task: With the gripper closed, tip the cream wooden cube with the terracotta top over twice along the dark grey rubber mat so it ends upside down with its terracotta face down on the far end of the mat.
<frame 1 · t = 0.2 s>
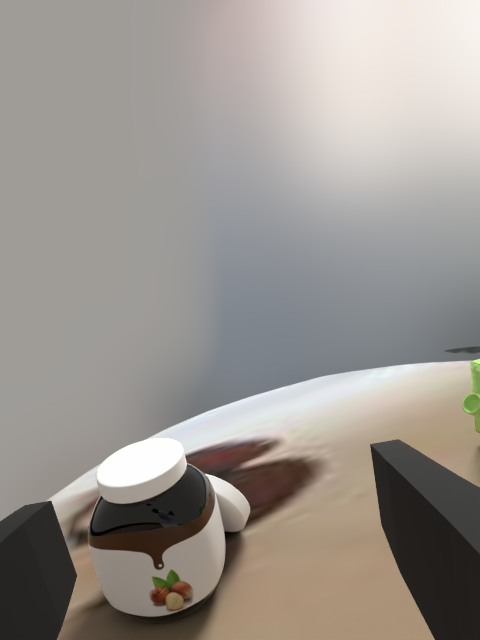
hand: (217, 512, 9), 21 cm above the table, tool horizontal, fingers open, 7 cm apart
spread jar: (188, 567, 36), on the table
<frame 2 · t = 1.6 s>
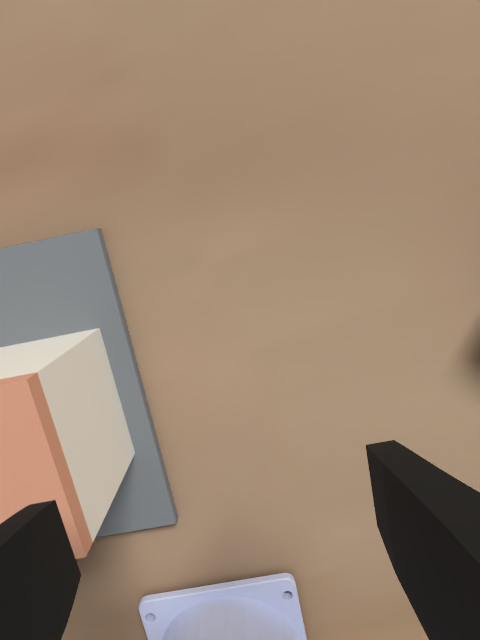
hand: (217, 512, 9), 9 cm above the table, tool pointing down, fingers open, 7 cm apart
cube: (52, 405, 18), resting on mat
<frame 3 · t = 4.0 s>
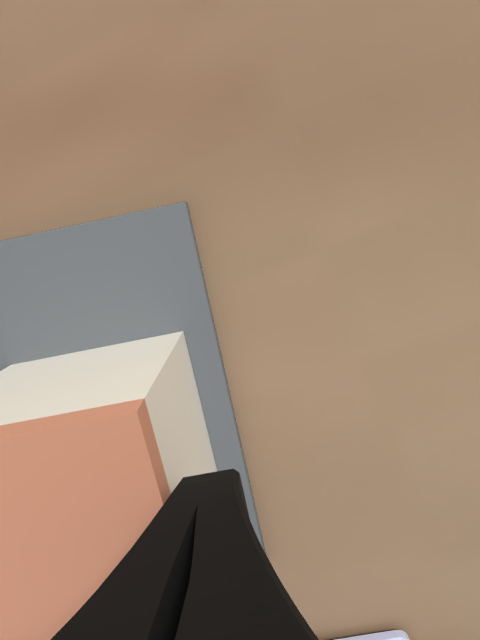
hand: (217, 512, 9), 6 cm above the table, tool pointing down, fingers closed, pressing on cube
cube: (119, 428, 14), point 1 cm above the table, touching gripper, mat
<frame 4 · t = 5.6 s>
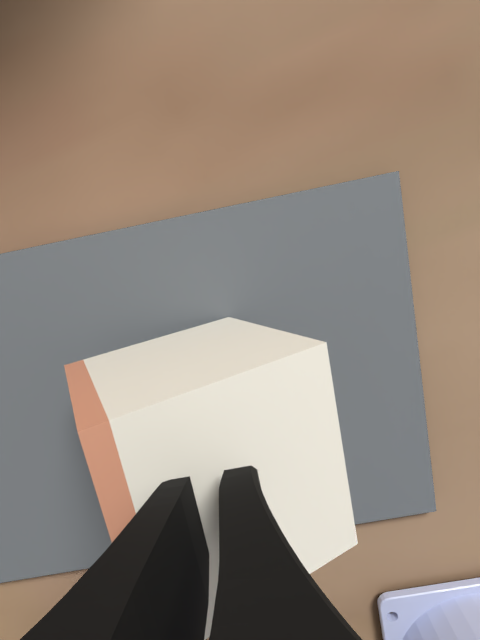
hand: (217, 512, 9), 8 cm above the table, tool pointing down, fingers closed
mat: (172, 397, 17), on the table
cube: (283, 413, 13), point 3 cm above the table, tilted 63°, touching gripper, mat
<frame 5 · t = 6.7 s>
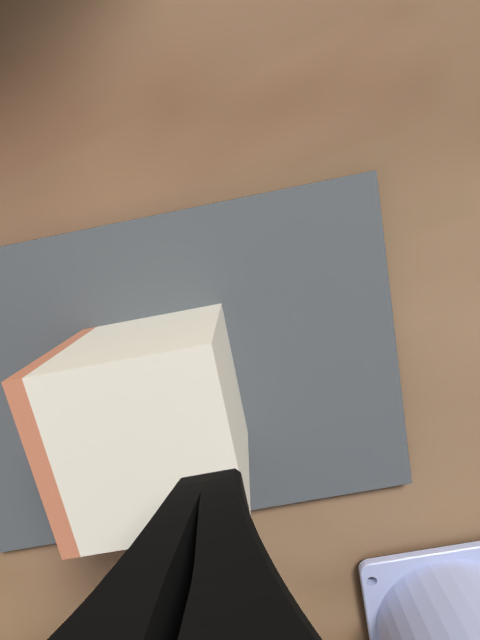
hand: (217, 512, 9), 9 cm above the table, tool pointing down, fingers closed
mat: (169, 378, 18), on the table
cube: (234, 398, 15), point 3 cm above the table, tilted 90°, touching mat
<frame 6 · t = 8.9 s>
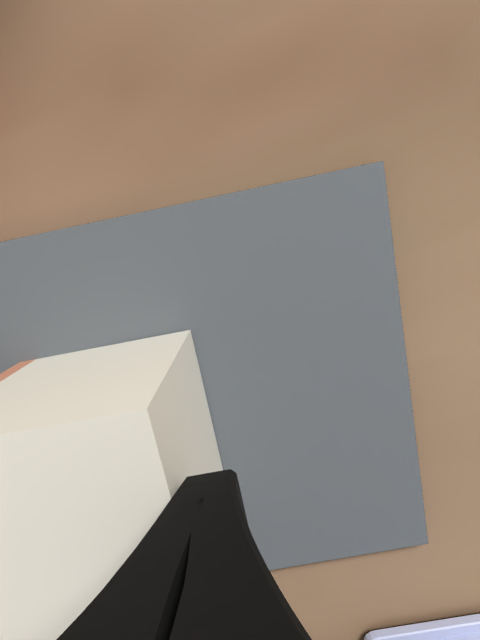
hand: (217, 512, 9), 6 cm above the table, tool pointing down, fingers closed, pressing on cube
mat: (130, 419, 15), on the table
cube: (199, 459, 11), point 4 cm above the table, tilted 91°, touching gripper, mat
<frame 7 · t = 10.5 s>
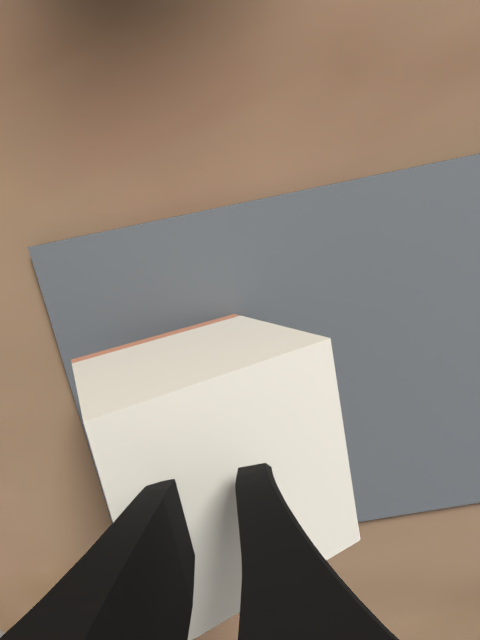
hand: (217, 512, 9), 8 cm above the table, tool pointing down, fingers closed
mat: (319, 369, 17), on the table
cube: (247, 491, 10), point 7 cm above the table, tilted 154°, touching gripper, mat
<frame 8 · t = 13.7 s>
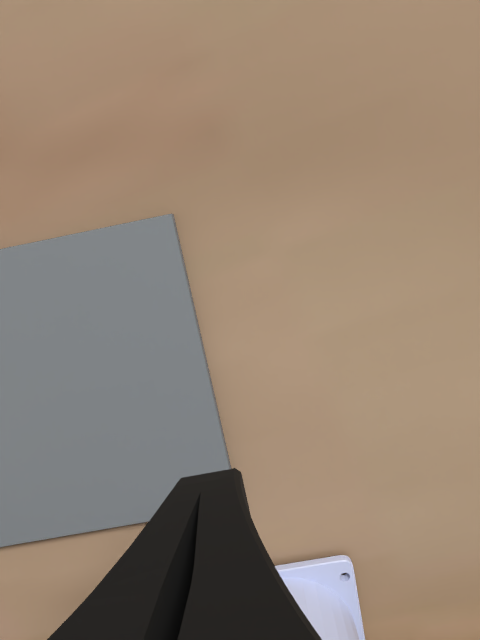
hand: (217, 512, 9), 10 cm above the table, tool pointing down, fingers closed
mat: (1, 407, 19), on the table
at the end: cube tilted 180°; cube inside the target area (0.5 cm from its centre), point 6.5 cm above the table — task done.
